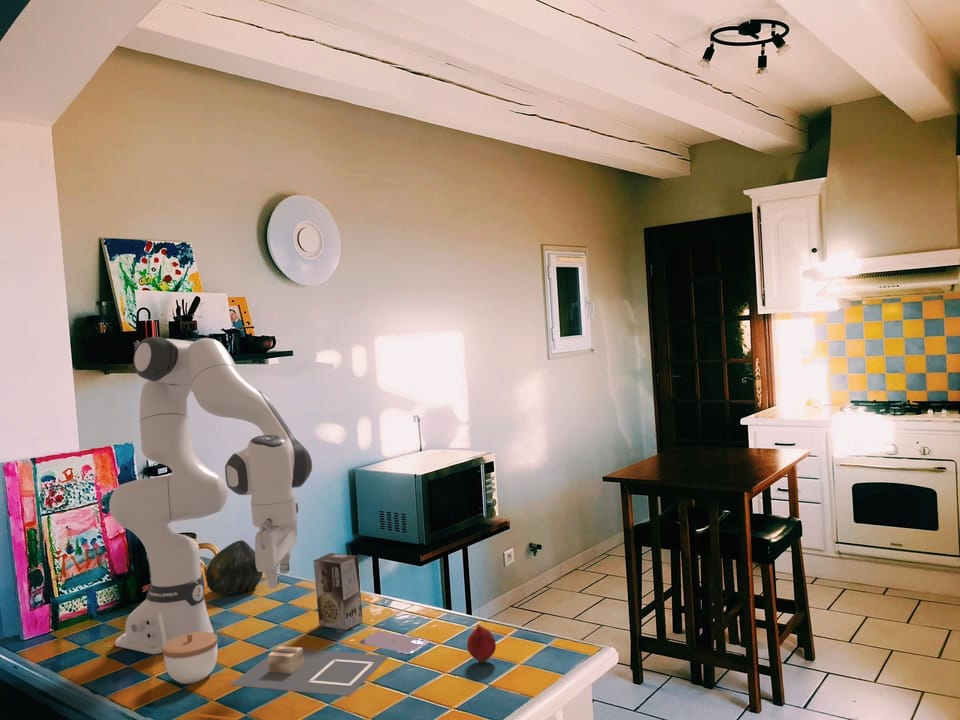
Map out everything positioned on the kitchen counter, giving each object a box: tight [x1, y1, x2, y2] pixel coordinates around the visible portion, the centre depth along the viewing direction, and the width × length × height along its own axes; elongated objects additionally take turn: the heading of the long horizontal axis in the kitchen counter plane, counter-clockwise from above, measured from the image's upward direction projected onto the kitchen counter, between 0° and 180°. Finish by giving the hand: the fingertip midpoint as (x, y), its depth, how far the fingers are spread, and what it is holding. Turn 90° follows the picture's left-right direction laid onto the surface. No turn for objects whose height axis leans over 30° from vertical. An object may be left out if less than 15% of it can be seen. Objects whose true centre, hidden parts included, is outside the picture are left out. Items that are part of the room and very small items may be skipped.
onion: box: [466, 623, 497, 664], centre depth 154 cm, size 6×6×8 cm
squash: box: [205, 539, 264, 596], centre depth 211 cm, size 14×15×15 cm
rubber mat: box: [229, 648, 390, 697], centre depth 155 cm, size 27×18×1 cm, turn 72°
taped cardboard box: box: [267, 645, 304, 674], centre depth 157 cm, size 6×4×4 cm
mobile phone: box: [358, 631, 429, 655], centre depth 167 cm, size 8×1×15 cm
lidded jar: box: [162, 632, 219, 685], centre depth 156 cm, size 11×11×9 cm
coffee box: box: [313, 552, 364, 631], centre depth 181 cm, size 9×6×16 cm
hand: (279, 579), depth 157 cm, fingers open, 8 cm apart
